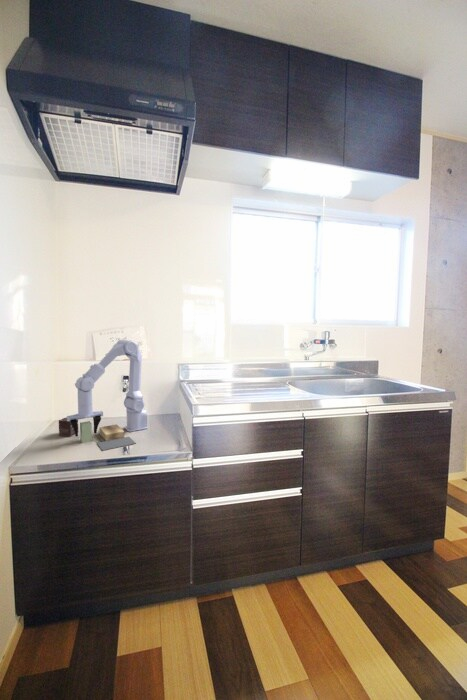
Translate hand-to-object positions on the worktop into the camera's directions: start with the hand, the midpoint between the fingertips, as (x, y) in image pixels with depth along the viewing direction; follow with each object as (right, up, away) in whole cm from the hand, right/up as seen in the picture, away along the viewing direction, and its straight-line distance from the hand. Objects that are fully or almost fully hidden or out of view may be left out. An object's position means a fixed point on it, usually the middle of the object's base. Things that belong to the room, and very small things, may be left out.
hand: (86, 434), depth 148 cm
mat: (+15, -3, -3) cm, 15 cm away
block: (0, -3, 0) cm, 3 cm away
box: (-12, -2, +8) cm, 14 cm away
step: (+9, -2, +7) cm, 11 cm away
